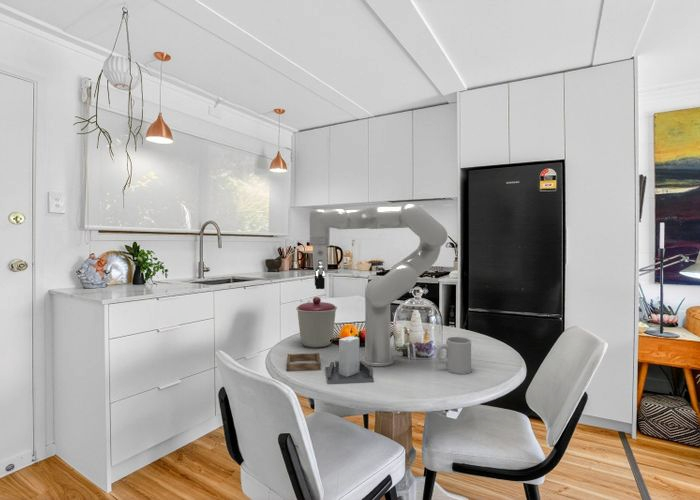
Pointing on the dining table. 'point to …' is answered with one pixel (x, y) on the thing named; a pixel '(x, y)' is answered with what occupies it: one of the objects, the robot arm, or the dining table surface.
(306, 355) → the walnut collar
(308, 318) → the canister
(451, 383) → the dining table surface
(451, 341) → the mug
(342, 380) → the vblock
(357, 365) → the skincare box
